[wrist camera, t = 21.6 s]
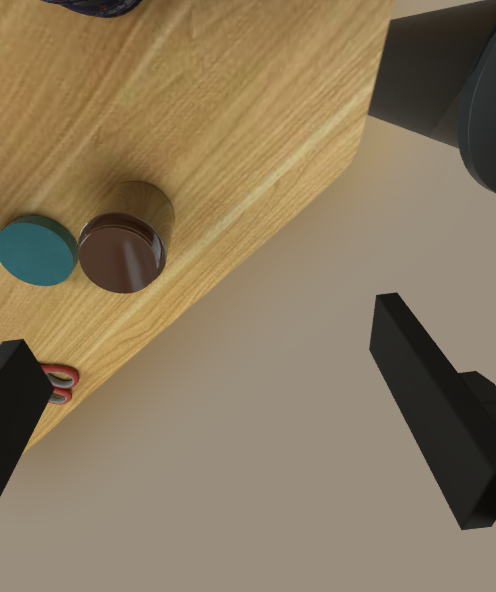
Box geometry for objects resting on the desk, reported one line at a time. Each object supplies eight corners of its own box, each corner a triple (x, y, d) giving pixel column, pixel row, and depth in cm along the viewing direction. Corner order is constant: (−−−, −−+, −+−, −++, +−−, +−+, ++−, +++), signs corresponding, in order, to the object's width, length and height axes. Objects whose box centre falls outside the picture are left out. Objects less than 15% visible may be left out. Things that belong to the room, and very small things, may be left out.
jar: (184, 197, 38) (175, 240, 29) (163, 255, 41) (150, 308, 32) (113, 168, 35) (80, 205, 26) (97, 232, 39) (64, 283, 30)
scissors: (-70, 303, 42) (-78, 310, 41) (90, 374, 51) (87, 382, 50) (-89, 340, 45) (-97, 348, 44) (66, 401, 54) (63, 409, 53)
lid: (18, 200, 36) (9, 207, 35) (90, 239, 39) (85, 248, 38) (-5, 254, 40) (-15, 263, 38) (63, 287, 43) (57, 297, 41)
